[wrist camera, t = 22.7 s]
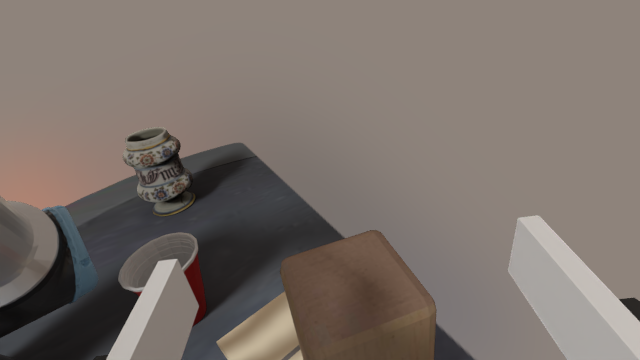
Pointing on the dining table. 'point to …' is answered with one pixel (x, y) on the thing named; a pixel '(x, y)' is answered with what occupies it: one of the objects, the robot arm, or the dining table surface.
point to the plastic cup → (161, 249)
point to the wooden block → (358, 302)
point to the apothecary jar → (159, 170)
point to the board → (264, 335)
